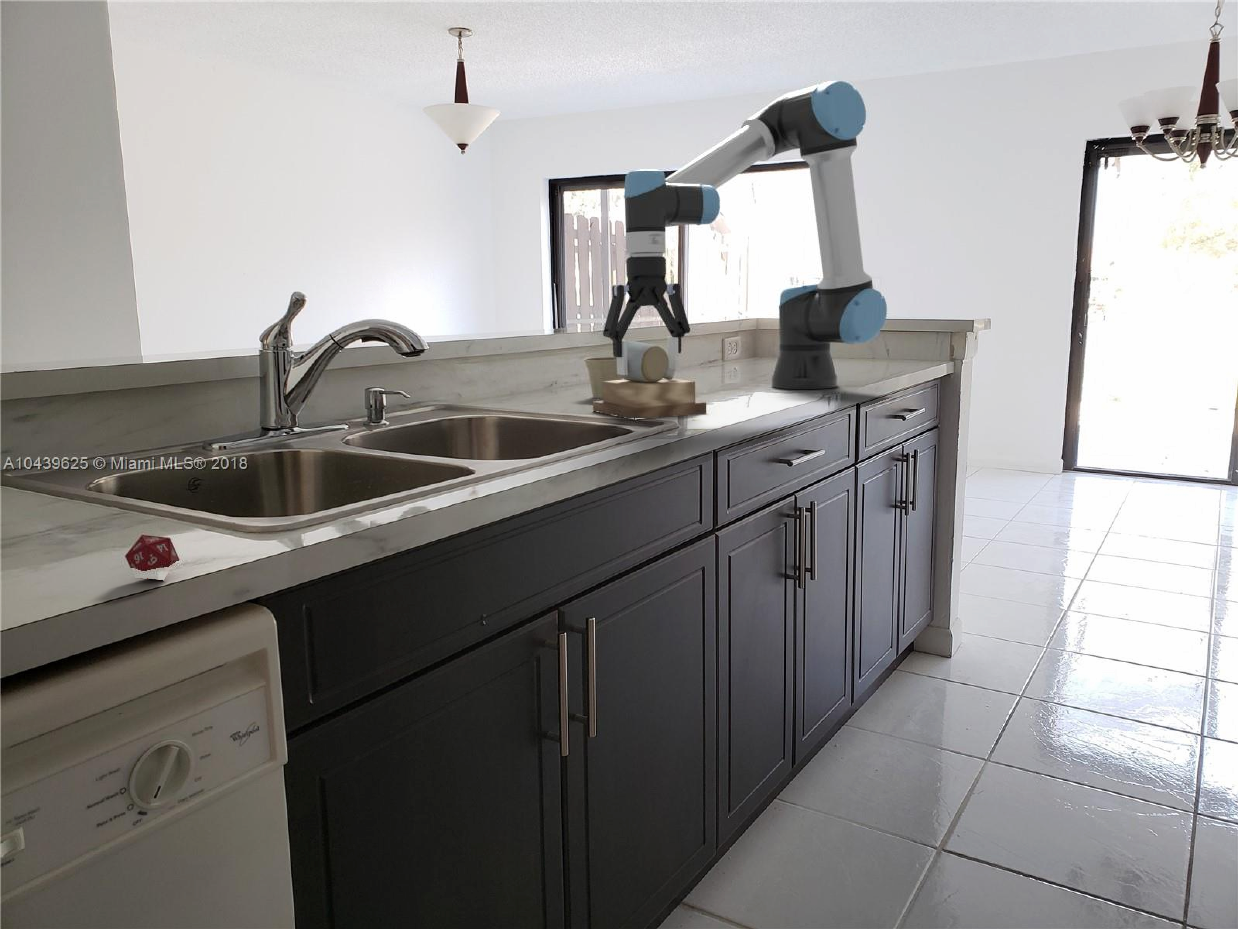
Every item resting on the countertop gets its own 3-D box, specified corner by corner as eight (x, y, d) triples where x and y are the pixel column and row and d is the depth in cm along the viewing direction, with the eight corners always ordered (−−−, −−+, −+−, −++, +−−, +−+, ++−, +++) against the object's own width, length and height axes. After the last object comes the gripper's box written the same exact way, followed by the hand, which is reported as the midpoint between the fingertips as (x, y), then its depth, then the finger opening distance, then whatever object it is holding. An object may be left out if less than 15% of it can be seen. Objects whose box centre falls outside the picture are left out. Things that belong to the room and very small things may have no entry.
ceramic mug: (643, 384, 175) (643, 343, 173) (615, 381, 181) (614, 341, 180) (684, 381, 181) (684, 341, 180) (655, 378, 188) (655, 339, 186)
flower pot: (578, 399, 207) (577, 359, 205) (595, 394, 215) (594, 356, 214) (617, 400, 203) (616, 360, 202) (633, 395, 212) (632, 356, 210)
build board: (661, 404, 193) (661, 395, 193) (706, 412, 179) (706, 402, 179) (593, 411, 185) (592, 401, 185) (634, 420, 172) (634, 409, 171)
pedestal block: (659, 396, 191) (658, 376, 190) (695, 402, 180) (695, 381, 179) (603, 401, 184) (602, 381, 184) (637, 408, 173) (636, 386, 173)
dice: (154, 589, 79) (149, 543, 79) (118, 583, 81) (112, 538, 80) (191, 576, 83) (186, 532, 82) (155, 571, 85) (150, 528, 84)
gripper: (601, 255, 168) (604, 378, 172) (708, 254, 179) (708, 370, 183) (582, 256, 174) (585, 375, 178) (686, 256, 186) (687, 367, 190)
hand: (648, 372), depth 181 cm, fingers closed on ceramic mug, 11 cm apart
